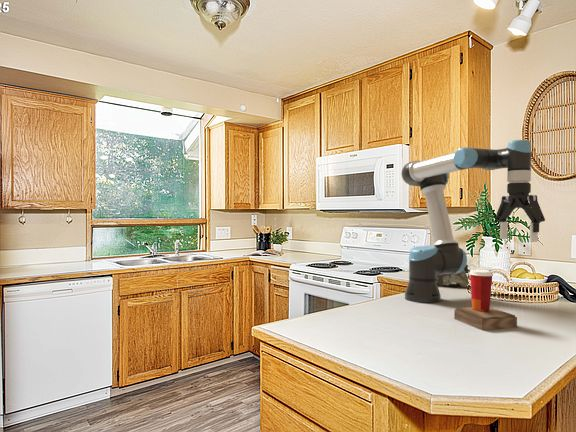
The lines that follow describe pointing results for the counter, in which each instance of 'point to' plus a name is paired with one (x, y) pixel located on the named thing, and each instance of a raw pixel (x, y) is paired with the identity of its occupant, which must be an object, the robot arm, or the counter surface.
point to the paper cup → (481, 289)
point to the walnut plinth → (485, 318)
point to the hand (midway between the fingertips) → (518, 240)
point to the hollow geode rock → (454, 278)
